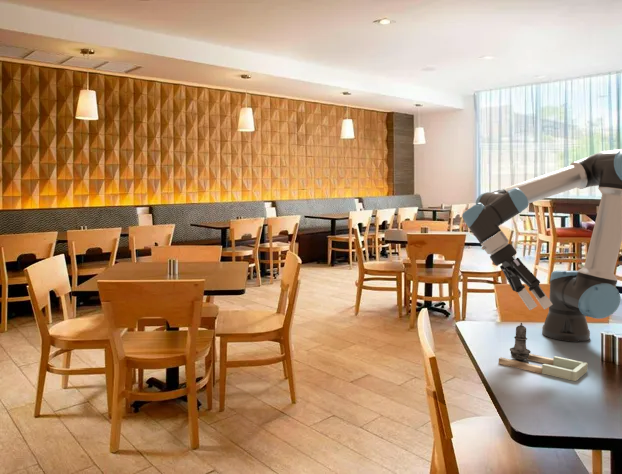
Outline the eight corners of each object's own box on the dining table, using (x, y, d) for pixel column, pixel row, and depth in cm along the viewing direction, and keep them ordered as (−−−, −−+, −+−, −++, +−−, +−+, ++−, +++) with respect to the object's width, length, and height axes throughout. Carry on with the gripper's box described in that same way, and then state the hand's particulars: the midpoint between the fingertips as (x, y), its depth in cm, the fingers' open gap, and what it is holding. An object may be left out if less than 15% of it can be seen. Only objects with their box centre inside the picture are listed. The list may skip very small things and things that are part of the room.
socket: (541, 373, 154) (542, 364, 154) (554, 364, 162) (555, 356, 161) (575, 381, 148) (576, 372, 148) (587, 371, 156) (587, 363, 155)
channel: (498, 363, 162) (498, 358, 162) (513, 354, 170) (513, 350, 170) (541, 373, 154) (541, 368, 154) (554, 364, 162) (555, 359, 162)
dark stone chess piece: (531, 366, 160) (533, 325, 159) (510, 364, 161) (512, 324, 160) (528, 359, 166) (530, 320, 164) (507, 358, 167) (509, 319, 166)
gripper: (480, 260, 182) (518, 314, 178) (499, 250, 157) (544, 313, 154) (499, 247, 182) (537, 302, 178) (521, 236, 158) (566, 299, 154)
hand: (540, 307), depth 166 cm, fingers open, 13 cm apart
